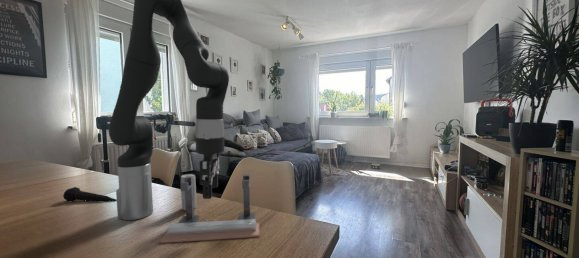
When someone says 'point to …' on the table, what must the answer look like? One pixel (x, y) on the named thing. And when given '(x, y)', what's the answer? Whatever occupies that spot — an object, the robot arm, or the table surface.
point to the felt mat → (211, 236)
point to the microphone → (84, 195)
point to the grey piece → (184, 191)
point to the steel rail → (211, 227)
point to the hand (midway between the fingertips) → (210, 192)
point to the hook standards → (189, 200)
